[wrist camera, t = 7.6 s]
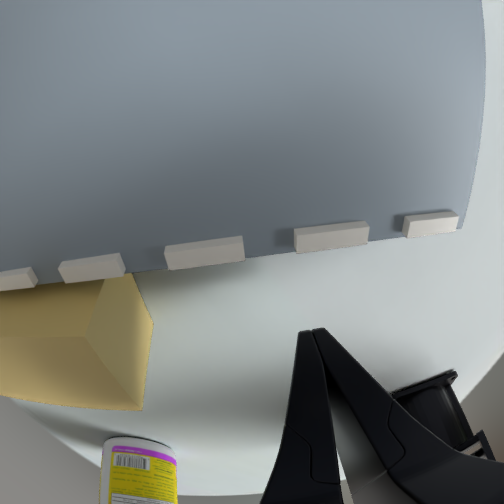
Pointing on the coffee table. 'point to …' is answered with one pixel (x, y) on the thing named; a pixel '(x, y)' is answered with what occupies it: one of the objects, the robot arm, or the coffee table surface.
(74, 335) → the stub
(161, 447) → the supplement bottle
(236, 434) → the coffee table surface
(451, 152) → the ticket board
